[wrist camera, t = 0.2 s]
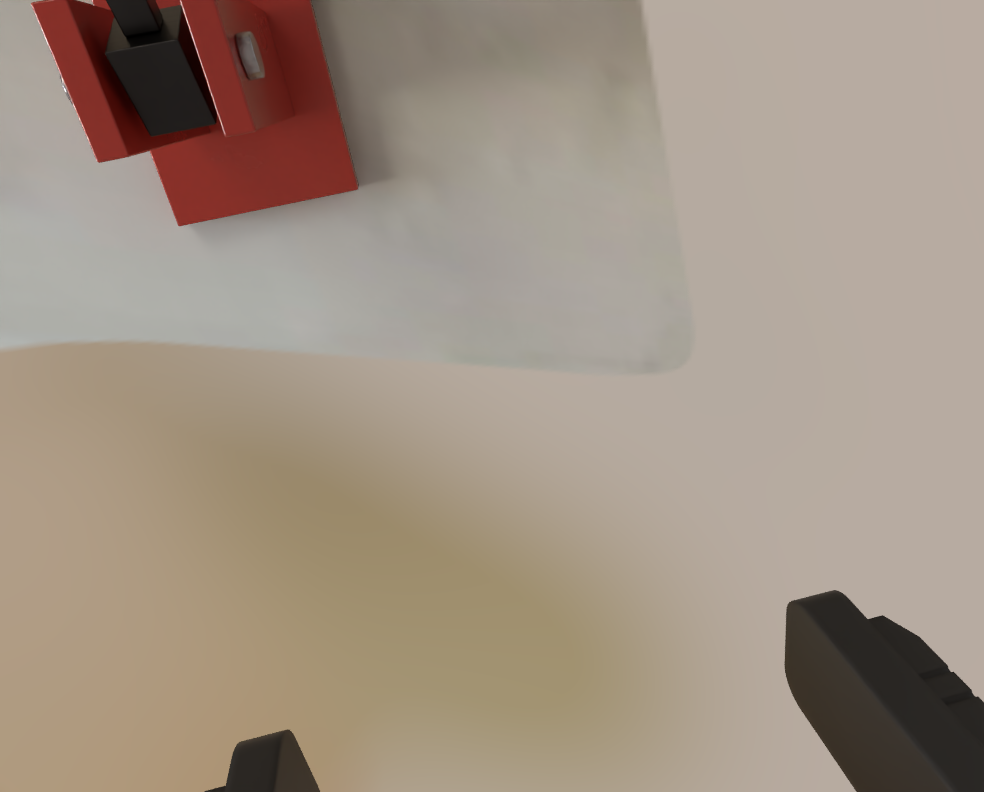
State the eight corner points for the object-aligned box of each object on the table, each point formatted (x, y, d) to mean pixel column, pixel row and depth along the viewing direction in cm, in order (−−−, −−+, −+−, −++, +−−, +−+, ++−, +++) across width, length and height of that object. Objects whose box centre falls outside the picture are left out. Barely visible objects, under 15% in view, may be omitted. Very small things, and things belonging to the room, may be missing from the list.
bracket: (79, -57, 28) (-122, -154, 17) (287, -93, 29) (229, -211, 18) (184, 222, 34) (86, 292, 22) (358, 186, 34) (350, 236, 23)
